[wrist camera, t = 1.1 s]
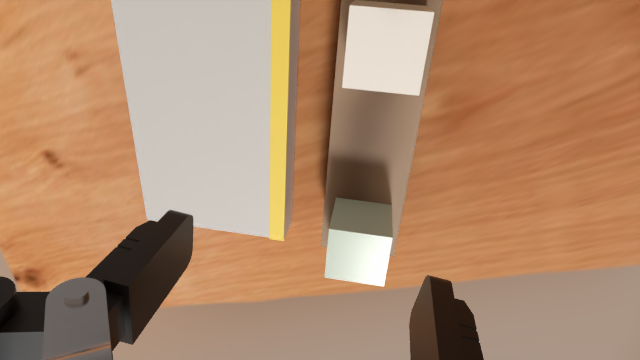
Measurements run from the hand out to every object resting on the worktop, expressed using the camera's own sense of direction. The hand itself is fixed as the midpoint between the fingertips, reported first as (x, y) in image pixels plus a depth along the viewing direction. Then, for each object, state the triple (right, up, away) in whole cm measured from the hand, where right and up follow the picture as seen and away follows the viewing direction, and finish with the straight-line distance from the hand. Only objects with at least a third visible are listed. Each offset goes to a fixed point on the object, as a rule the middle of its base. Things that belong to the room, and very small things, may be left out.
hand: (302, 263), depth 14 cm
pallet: (+5, +7, +17) cm, 19 cm away
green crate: (+4, 0, +16) cm, 16 cm away
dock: (-7, +9, +18) cm, 21 cm away
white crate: (+4, +11, +10) cm, 15 cm away
